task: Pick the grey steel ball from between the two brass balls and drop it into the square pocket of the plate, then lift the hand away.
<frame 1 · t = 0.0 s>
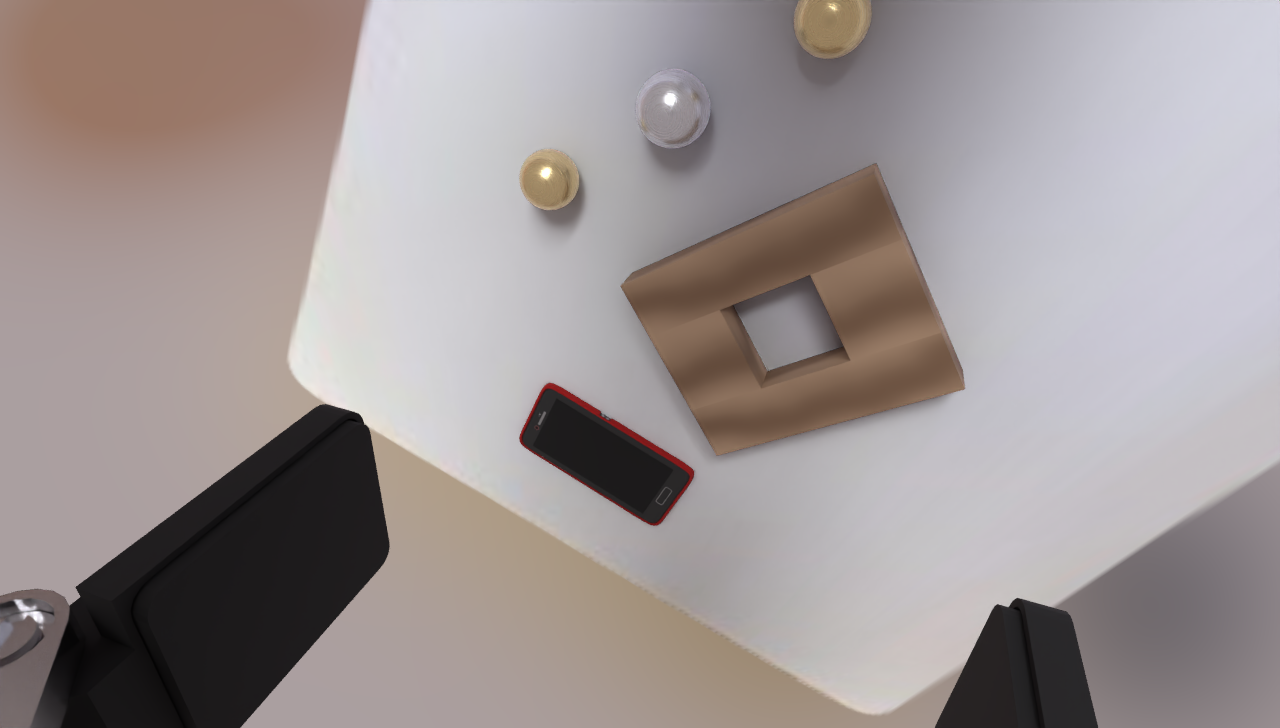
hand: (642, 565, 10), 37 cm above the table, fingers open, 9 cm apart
steel ball: (672, 109, 42), point 2 cm above the table
cell phone: (607, 450, 60), on the table
brass ball 1: (549, 179, 47), point 2 cm above the table
pocket plate: (789, 319, 48), on the table
brass ball 2: (832, 18, 37), point 2 cm above the table
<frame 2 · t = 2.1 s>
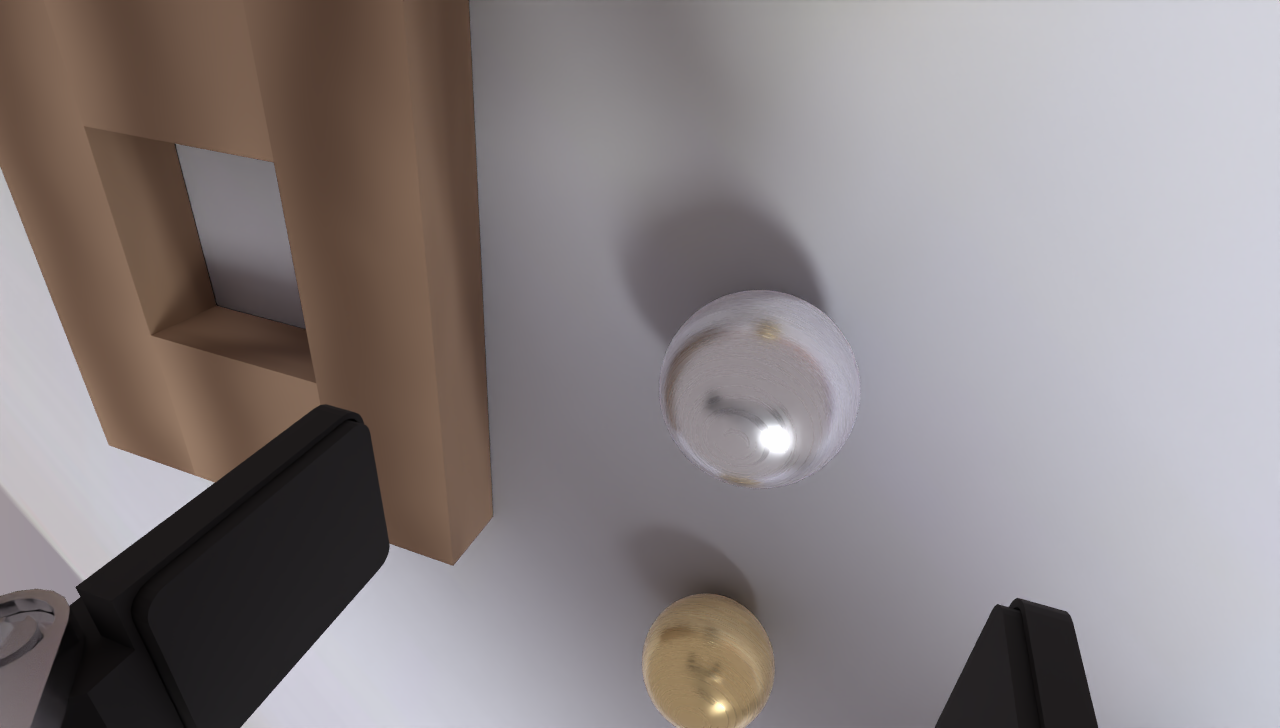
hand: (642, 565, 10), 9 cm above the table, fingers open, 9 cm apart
steel ball: (757, 388, 16), point 2 cm above the table
pocket plate: (272, 233, 22), on the table
brass ball 2: (707, 662, 21), point 2 cm above the table
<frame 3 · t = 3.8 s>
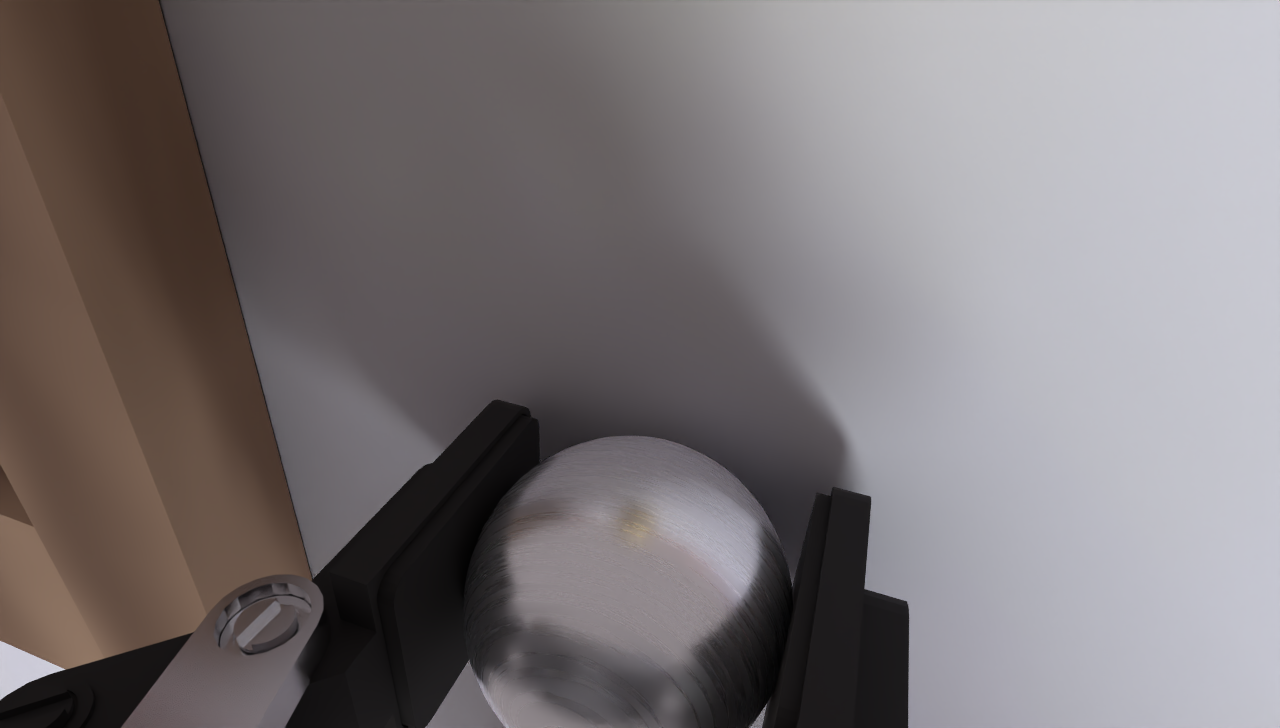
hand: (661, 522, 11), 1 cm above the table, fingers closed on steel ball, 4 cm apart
steel ball: (628, 596, 10), point 2 cm above the table, touching gripper
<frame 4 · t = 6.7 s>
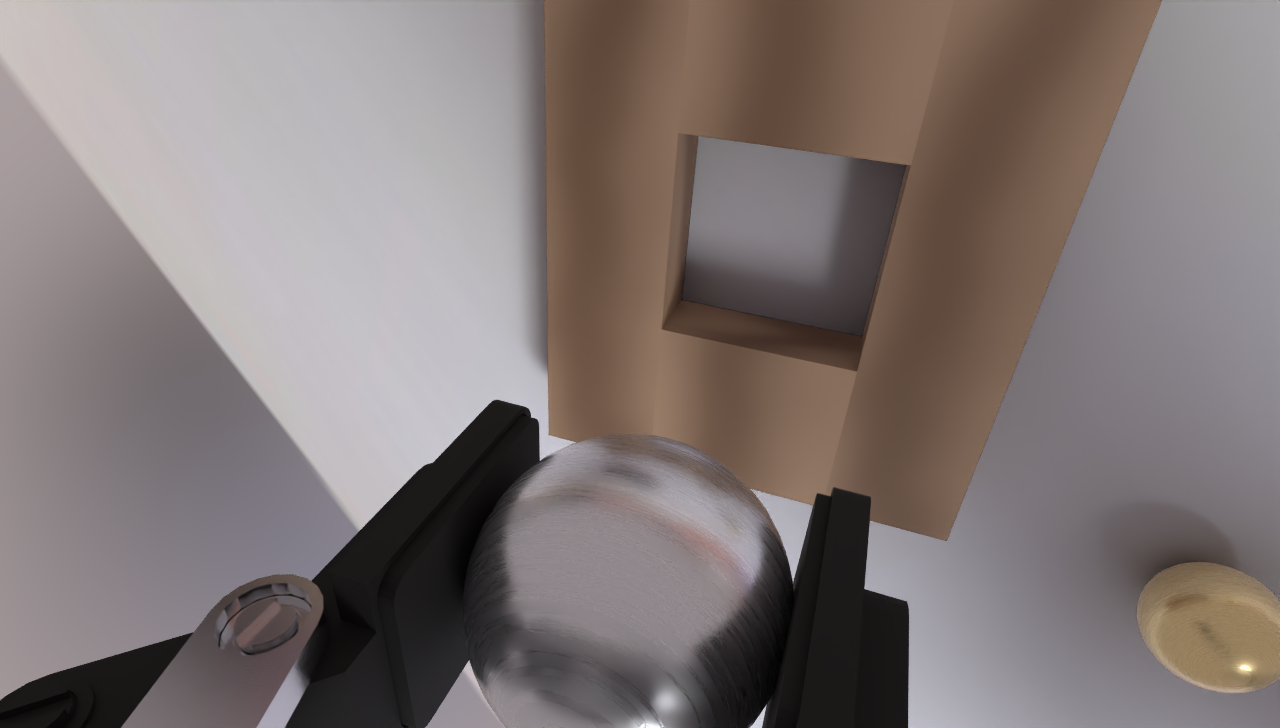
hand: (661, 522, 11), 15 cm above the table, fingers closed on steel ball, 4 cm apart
steel ball: (629, 595, 10), point 16 cm above the table, touching gripper
pocket plate: (784, 231, 23), on the table
brass ball 2: (1211, 625, 23), point 2 cm above the table
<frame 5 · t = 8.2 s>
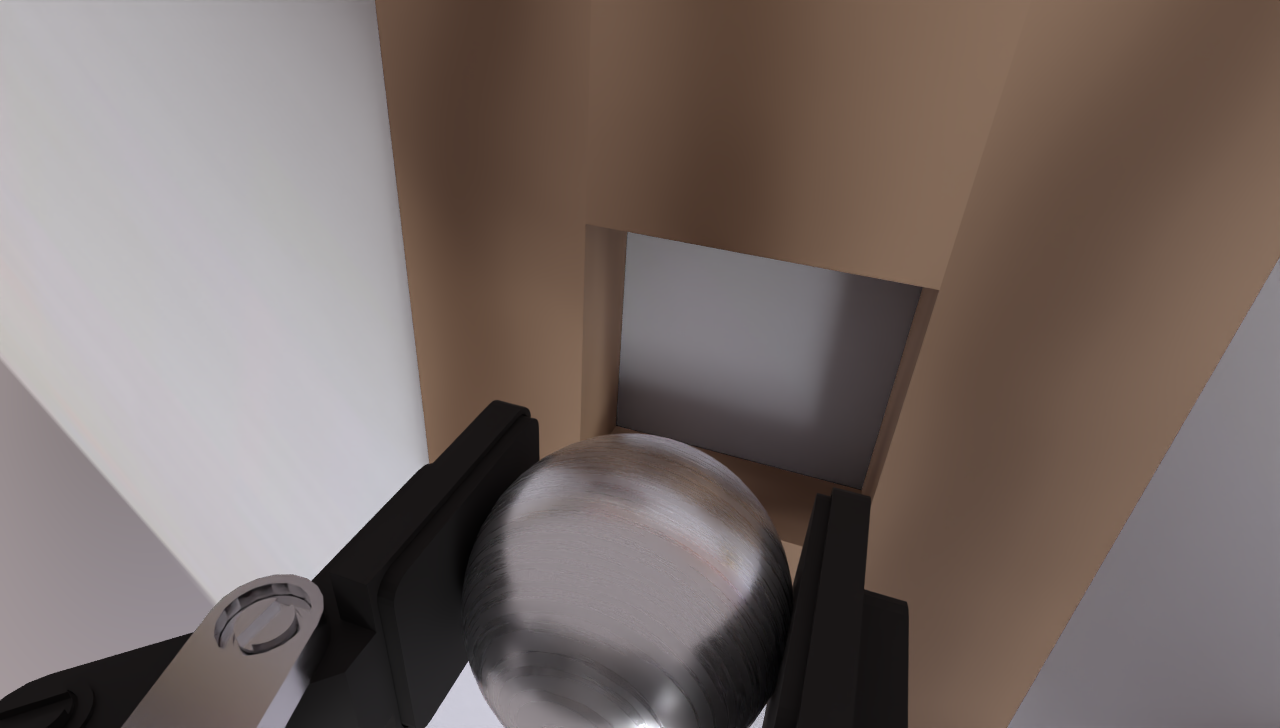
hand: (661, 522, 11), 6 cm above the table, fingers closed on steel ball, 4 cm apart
steel ball: (628, 595, 10), point 8 cm above the table, touching gripper
pocket plate: (751, 347, 16), on the table
when the fingers open (4 cm above the table, at t = 9.5 s): steel ball drops 3 cm, point 2 cm above the table.
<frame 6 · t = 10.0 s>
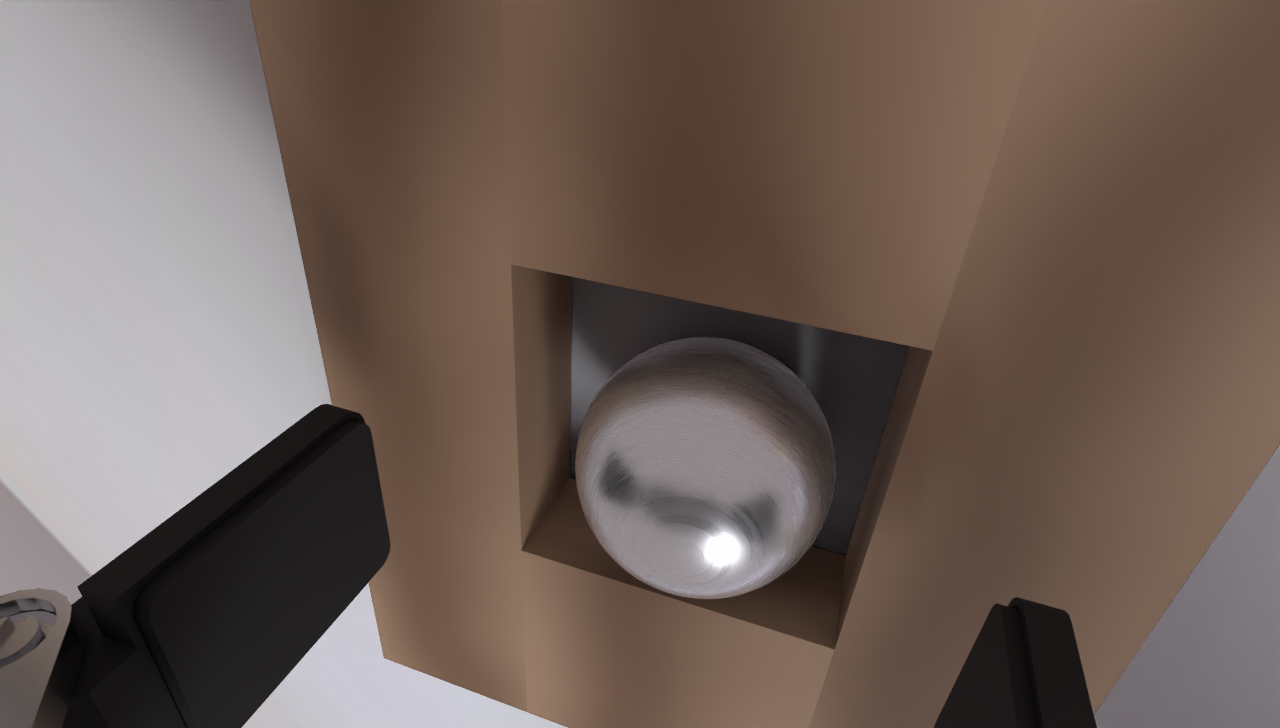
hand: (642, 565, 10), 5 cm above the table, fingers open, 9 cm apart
steel ball: (703, 464, 12), point 2 cm above the table, tilted 7°
pocket plate: (717, 397, 14), on the table
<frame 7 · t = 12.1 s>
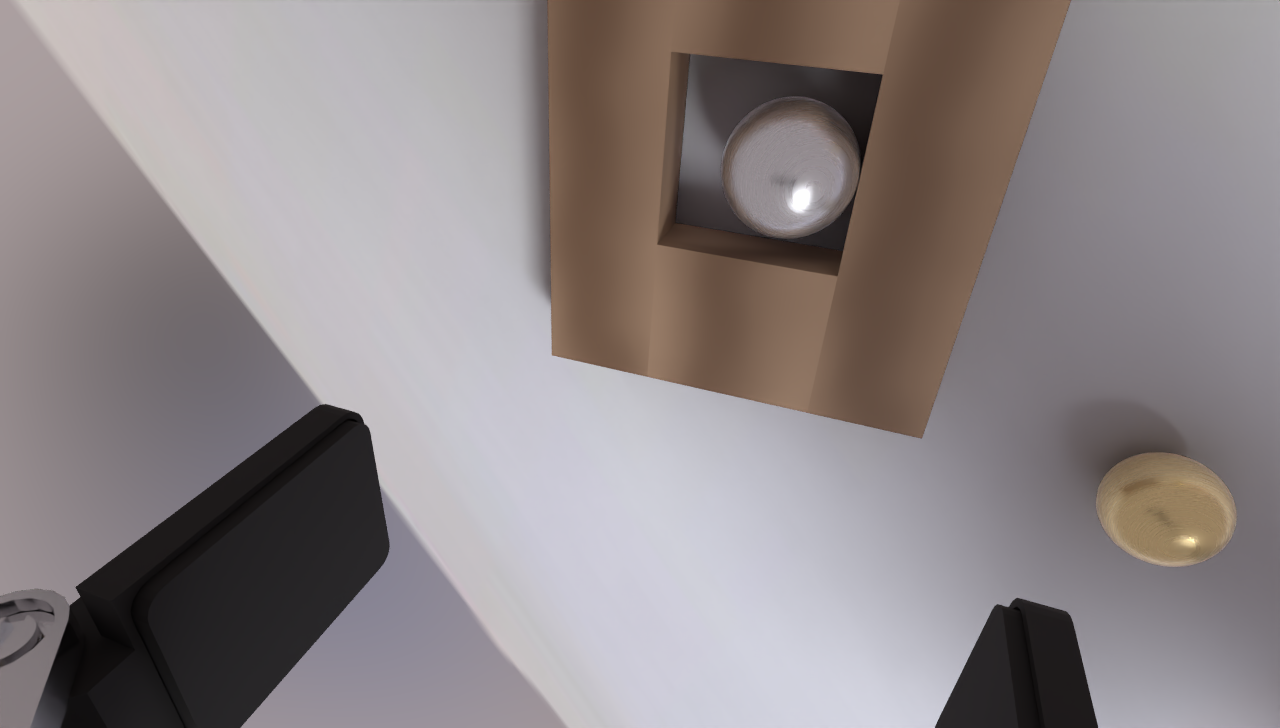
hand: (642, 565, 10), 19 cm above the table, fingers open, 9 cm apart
steel ball: (789, 169, 23), point 2 cm above the table, tilted 26°
pocket plate: (769, 150, 25), on the table
brass ball 2: (1162, 508, 25), point 2 cm above the table
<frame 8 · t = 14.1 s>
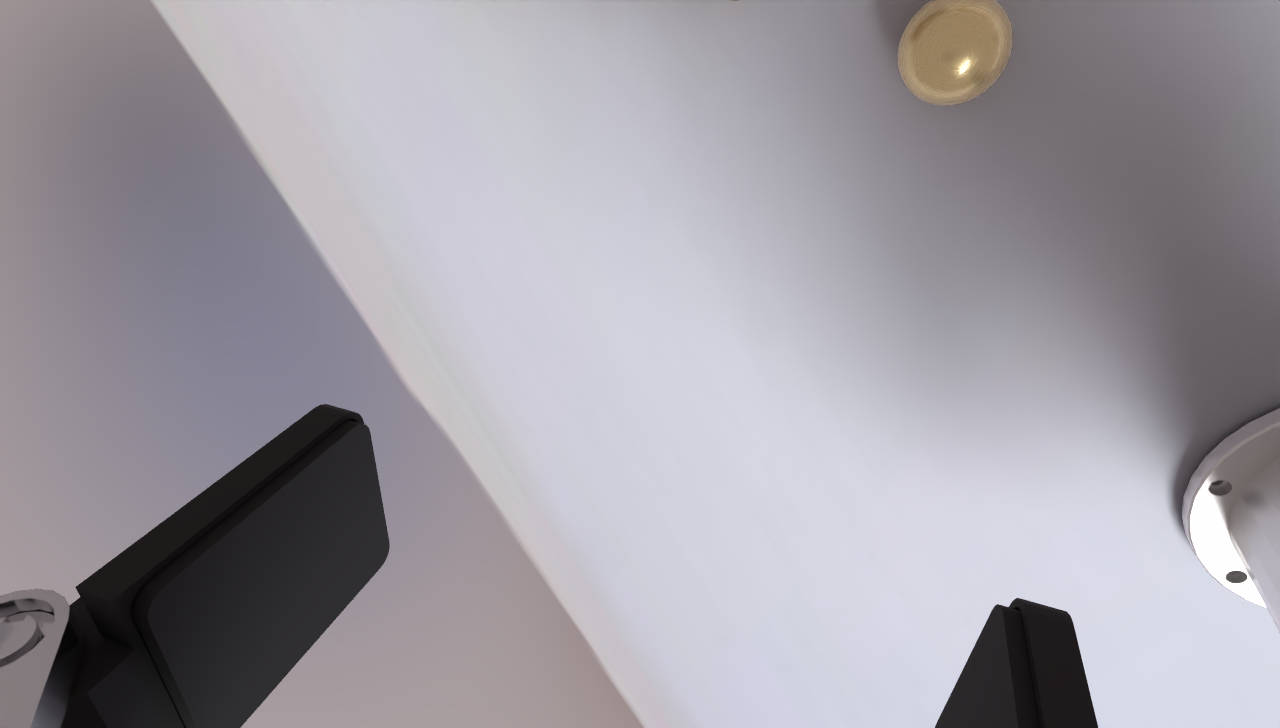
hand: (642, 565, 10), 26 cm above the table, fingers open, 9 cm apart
brass ball 2: (953, 49, 27), point 2 cm above the table
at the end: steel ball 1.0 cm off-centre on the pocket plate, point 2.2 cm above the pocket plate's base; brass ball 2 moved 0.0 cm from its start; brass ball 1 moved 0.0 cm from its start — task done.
